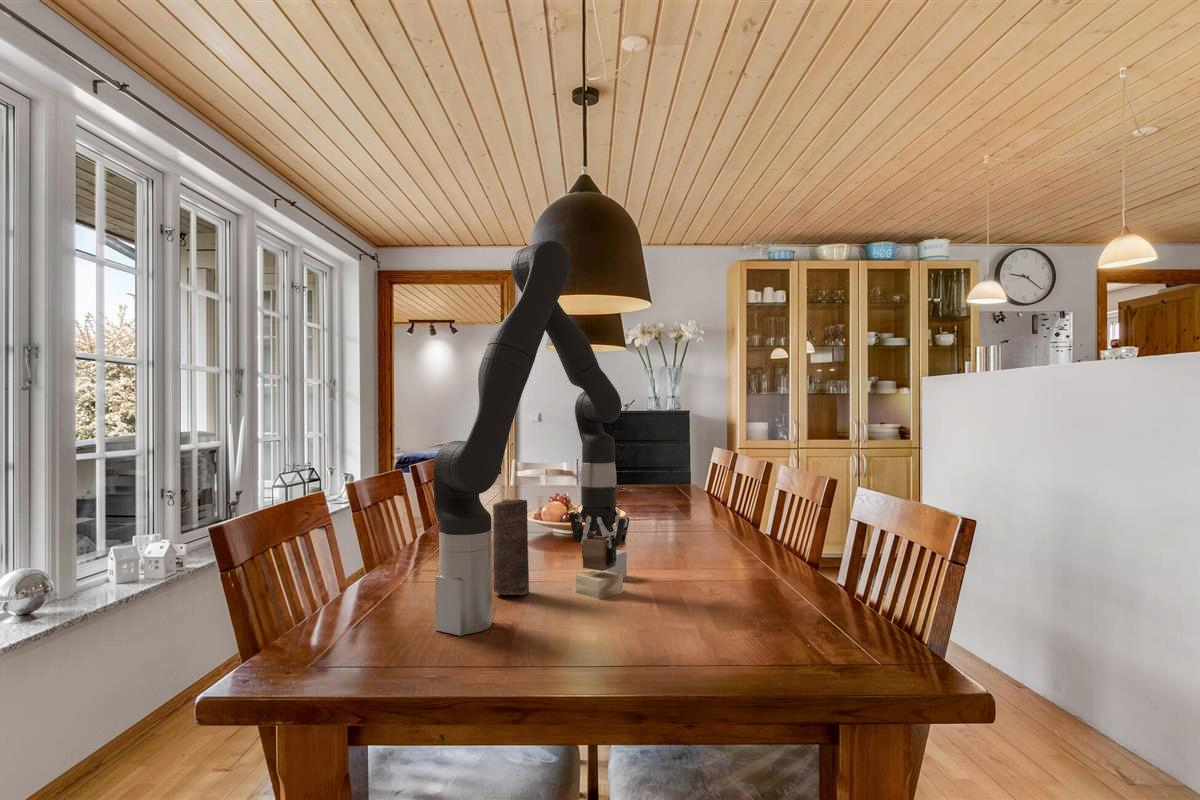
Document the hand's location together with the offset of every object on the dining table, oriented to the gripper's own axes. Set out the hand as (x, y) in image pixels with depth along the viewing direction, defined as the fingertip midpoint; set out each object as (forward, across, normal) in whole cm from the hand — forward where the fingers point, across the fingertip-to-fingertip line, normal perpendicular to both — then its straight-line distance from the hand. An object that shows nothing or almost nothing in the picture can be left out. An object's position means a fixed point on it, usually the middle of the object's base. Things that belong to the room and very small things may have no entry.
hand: (599, 563), depth 141 cm
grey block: (+6, -4, +12) cm, 14 cm away
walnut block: (+1, 0, 0) cm, 1 cm away
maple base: (+6, 0, 0) cm, 6 cm away
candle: (+6, -15, -11) cm, 20 cm away
